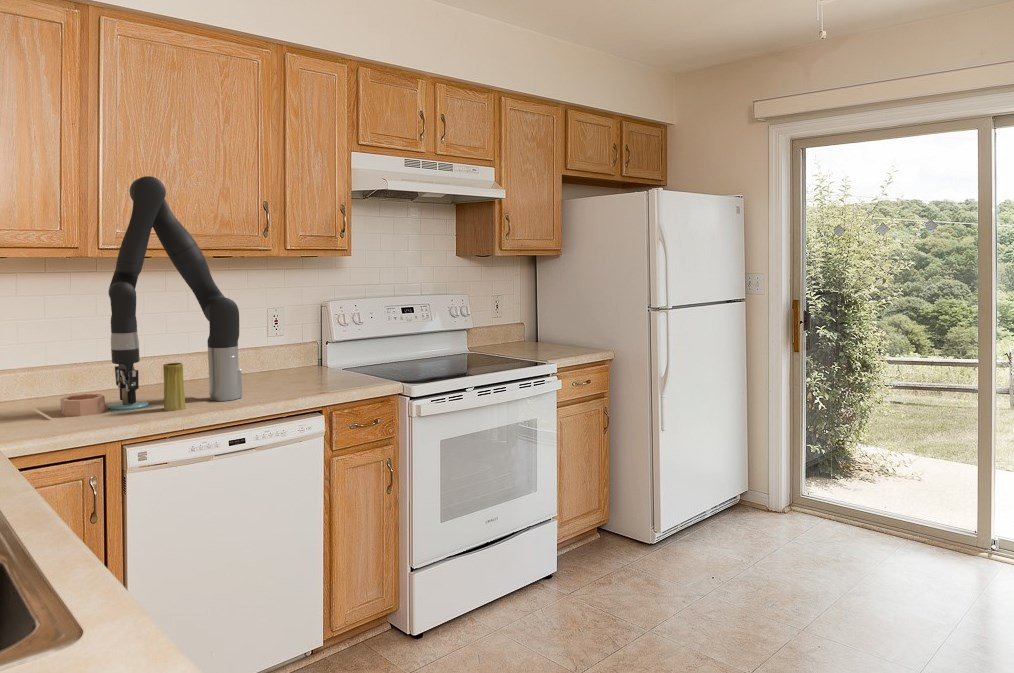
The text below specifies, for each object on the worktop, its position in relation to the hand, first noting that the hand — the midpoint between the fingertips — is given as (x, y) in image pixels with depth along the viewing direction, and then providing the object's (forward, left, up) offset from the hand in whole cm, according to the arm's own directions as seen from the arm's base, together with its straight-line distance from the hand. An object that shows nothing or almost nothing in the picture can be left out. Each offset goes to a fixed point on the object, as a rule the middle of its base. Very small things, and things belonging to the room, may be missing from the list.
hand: (128, 401), depth 223 cm
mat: (0, 0, -2) cm, 2 cm away
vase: (-9, +13, -2) cm, 16 cm away
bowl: (+12, -1, -2) cm, 12 cm away
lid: (0, 0, -2) cm, 2 cm away
